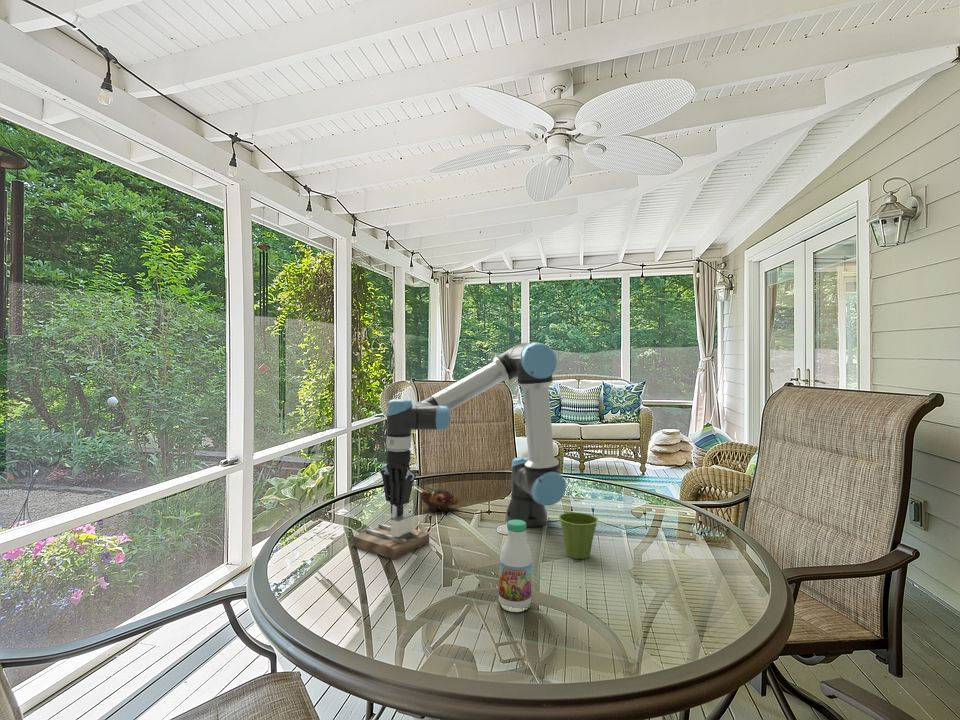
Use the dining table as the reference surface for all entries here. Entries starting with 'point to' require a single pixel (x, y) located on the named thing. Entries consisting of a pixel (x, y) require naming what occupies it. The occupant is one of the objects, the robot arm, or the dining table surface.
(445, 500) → the decorative turtle
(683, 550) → the dining table surface
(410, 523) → the fader knob
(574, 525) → the plant pot
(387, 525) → the fader console
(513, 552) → the milk bottle
